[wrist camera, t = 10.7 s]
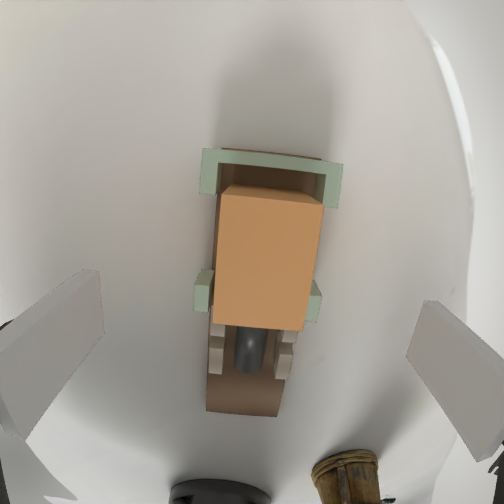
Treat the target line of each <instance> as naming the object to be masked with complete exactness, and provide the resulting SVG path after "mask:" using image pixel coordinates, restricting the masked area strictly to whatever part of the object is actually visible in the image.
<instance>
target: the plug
mask: <svg viewBox="0 0 504 504" xmlns="http://www.w3.org/2000/svg"><path fill="white" fill-rule="evenodd" d="M323 209H324V205H323V204H321V203H320V202H318V201H317V200H315V199H314V198H312V197H311V196H309V195H308V194H306V193H305V192H303V191H298V190H289V189H281V188H272V187H263V186H253V185H243V184H231V185H230V186H229V187H228V188H227V189H226V190H225V191H224V192H223V193H222V194H221V206H220V218H219V231H218V244H217V258H216V273H215V289H214V305H213V323H215V324H225V325H234V326H237V329H236V340H235V351H234V362H233V364H234V367H235V368H236V369H237V370H239V371H241V372H244V373H255V372H258V371H260V370H261V369H262V367H263V360H264V354H265V347H266V341H267V334H268V329H280V330H294V331H303V326H304V321H305V316H306V311H307V306H308V300H309V295H310V289H311V284H312V278H313V273H314V267H315V261H316V255H317V249H318V242H319V236H320V230H321V223H322V216H323Z"/></svg>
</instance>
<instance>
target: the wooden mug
mask: <svg viewBox="0 0 504 504" xmlns="http://www.w3.org/2000/svg"><path fill="white" fill-rule="evenodd" d="M377 471H378V462H377V458H376V455H375V454H374V453H372V452H370V451H368V450H354V451H347V452H342V453H340V454H337V455H333V456H331V457H329V458H327V459H325V460H323V461H322V462H320V463H319V464H317V465H316V466H315V467H314V468H313V470H312V473H311V477H312V480H313V483H314V486H315V487H316V488H317V489H318V492H319V495H320V498H321V501H322V504H381V500H380V491H379V483H378V474H377Z"/></svg>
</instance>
